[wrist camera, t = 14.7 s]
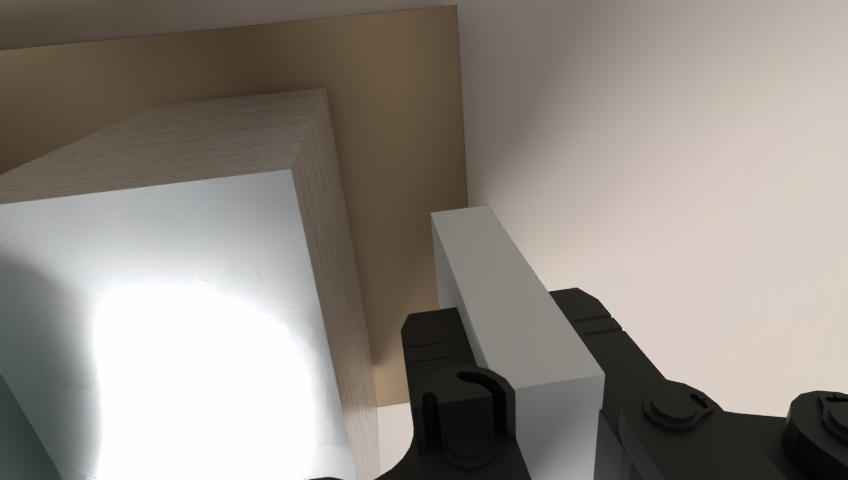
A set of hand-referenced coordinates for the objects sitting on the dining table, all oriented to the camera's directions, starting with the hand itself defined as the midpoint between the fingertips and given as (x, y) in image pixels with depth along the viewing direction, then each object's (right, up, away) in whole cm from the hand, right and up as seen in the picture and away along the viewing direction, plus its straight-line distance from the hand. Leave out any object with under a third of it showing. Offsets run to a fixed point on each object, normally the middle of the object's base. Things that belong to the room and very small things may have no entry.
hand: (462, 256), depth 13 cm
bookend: (-5, 0, +1) cm, 5 cm away
